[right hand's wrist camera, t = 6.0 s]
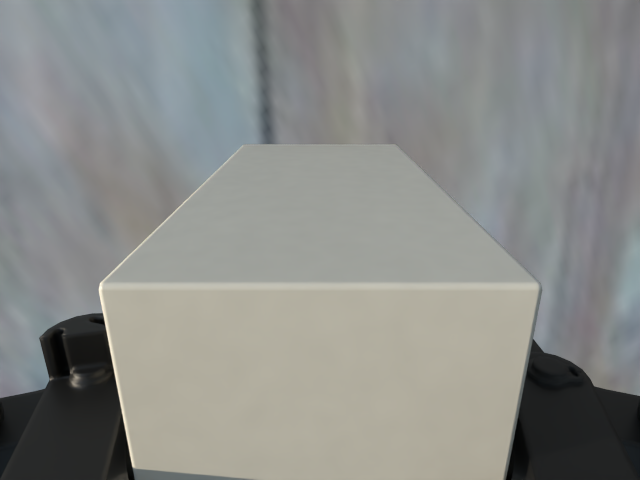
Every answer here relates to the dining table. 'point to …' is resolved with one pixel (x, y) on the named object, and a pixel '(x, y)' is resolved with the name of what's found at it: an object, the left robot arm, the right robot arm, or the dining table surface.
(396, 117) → the dining table surface
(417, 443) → the bar
